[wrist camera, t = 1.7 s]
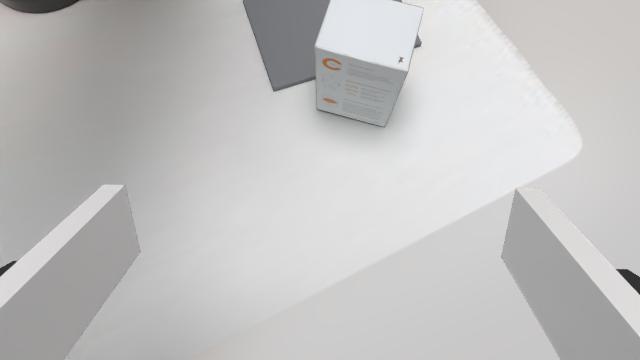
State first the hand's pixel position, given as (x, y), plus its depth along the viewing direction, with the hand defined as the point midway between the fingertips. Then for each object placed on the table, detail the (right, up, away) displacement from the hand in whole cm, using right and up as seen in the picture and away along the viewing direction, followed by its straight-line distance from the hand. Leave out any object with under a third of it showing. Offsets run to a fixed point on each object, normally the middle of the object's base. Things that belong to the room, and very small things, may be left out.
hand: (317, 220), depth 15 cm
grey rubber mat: (+1, +20, +37) cm, 42 cm away
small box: (+4, +11, +34) cm, 36 cm away
